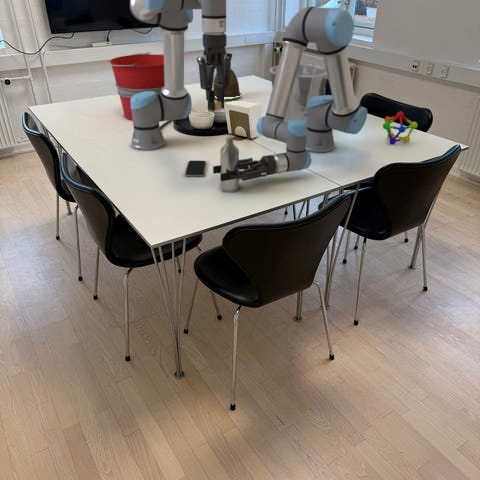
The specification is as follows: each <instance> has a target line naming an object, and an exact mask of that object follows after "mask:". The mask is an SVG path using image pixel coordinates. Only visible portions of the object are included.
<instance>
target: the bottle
mask: <svg viewBox="0 0 480 480" xmlns="http://www.w3.org/2000/svg"><path fill="white" fill-rule="evenodd" d="M219 151H220V155H219V157H220V159H219V161H220V165H221V173H220V174H222V173H228V172H234V171H237V172H238V170H239V160H240V150H239V148H238V147H237V146H236V145H235V144H234V137H233V136H232V135H231V136H230V135H228V136H226V137H225V143H224V145H223V146H222V147H221V148H220V150H219ZM220 189H221V191H223V192H225V193H226V192H227V193H233V192H237V191H238V190H239V189H240V179H233V180H227V181H220Z"/></svg>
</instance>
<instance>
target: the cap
mask: <svg viewBox="0 0 480 480" xmlns="http://www.w3.org/2000/svg"><path fill="white" fill-rule="evenodd" d="M220 110H222V102H219V101H217V100H215V111H220Z"/></svg>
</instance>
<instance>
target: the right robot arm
mask: <svg viewBox="0 0 480 480" xmlns="http://www.w3.org/2000/svg"><path fill="white" fill-rule="evenodd" d="M354 30H355V23H354V19H353V16H352V15H351V13H350V12H349V11H348V10H345V9H343V8H339V7H332V8H330V7H322V6H321V7H319V6H313V5H311V6H306V7H304V8H302V9H300V10H299V11H298V12H297V13H295V15H294V16H293V17H292V18H291V20H290V21H289V22H288V25H286V28H285V31H284V33H283V35H282V39H281V44H282V46H283V48H282V51H281V55H280V57H279V62H278V65H279V66H278V65H277V66H278V70H277V74H276V77H275V81H274V85H273V88H272V89H271V93H270V98H269V100H268V104H267V108H266V113H265V116H261V117H260V118H259V119H258V121H257V122H256V132H257V133H258V134H259V135H260V136H262V137H265V138H267V139H272V140H275V141H277V142H281V143H284V144H286V146H285V152H280V153H279V152H278V153H273V154H269V155H263V156H262V157H261V158H260V159H259V160H257V159H256V160H254V158H253V157H249V158H242V159H239V170H238V172H237V171H234V172H228V173H222V174H221V164H218V165H213V166H212V173H213V174H219V177H220V182H221V181H227V180H233V179H239V180H241V181H242V182H245V181H249V180H254V179H259V178H267V176H273V175H275V174H276V175H277V174H278V175H281V174H285V173H290V172H297V171H302V170H305V169H308V168H309V167H310V166H311V164H312V154H311V153H316V154H317V153H319V154H323V153H330V152H332V151H334V150H335V146H336V143H335V139H334V133H333V130H335V131H338V132H341V133H345V134H347V135H348V134H350V135H358V133H360V131H361V130H362V129H363V128H364V126H365V124H366V122H367V118H368V108H366V107H364V106H361V103H360V99H359V98H358V96H356V95H355V91H354V84H353V80H352V75H351V73H352V72H351V68H350V63H349V57H348V52H347V48H348V47H349V45H350V43H351V41H352V39H353V36H354V32H353V31H354ZM309 43H314V44H315V46H316V49H317V50H316V51H317V54H319V55H321V56H322V57H323V61H324V62H323V63H324V66H325V68H326V71H327V75H328V78H327V81H328V84H329V88H330V93H331V94H325V95H324V94H322V96H315V97H312V98H311V99H310V101H309V107H308V119H307V122H306V121H304V120H298V119H293V120H290V121H289V122H288V123H286V122H284V118H285V114H286V111H287V107H288V103H289V100H290V96H291V92H292V89H293V85H294V82H295V78H296V74H297V71H298V67H299V64H301V59H302V56H303V53H304V51H306V50H307V48H308V45H309Z"/></svg>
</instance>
